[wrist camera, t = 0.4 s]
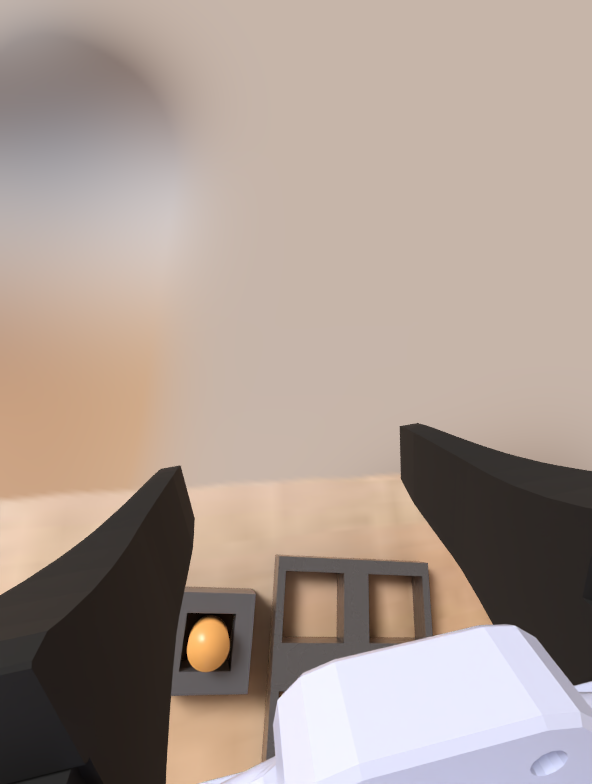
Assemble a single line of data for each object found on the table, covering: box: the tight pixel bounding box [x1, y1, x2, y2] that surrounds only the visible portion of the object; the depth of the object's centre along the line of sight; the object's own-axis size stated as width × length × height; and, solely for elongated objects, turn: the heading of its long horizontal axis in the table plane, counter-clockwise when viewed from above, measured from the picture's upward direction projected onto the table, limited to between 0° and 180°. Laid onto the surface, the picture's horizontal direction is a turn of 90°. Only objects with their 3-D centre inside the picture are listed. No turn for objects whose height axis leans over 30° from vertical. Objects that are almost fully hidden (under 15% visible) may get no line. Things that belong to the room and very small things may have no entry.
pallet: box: [262, 555, 433, 762], centre depth 33 cm, size 17×15×2 cm
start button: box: [187, 615, 230, 672], centre depth 30 cm, size 3×3×3 cm
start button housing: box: [171, 587, 256, 696], centre depth 31 cm, size 7×7×3 cm
